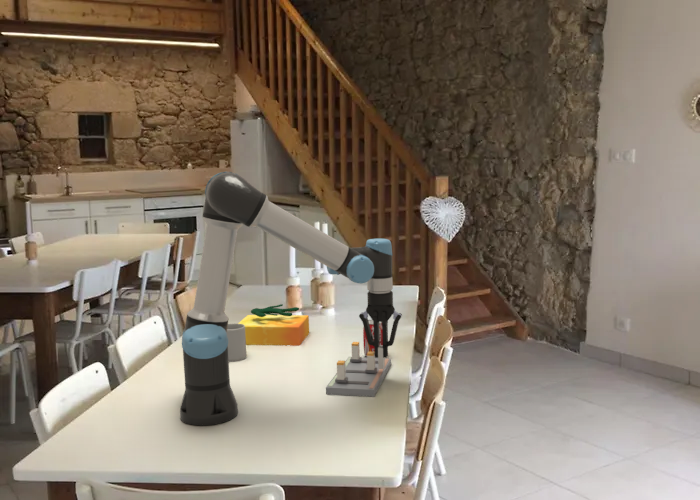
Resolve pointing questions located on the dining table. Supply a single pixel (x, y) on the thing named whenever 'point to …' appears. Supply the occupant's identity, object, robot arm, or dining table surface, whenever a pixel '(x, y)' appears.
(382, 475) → the dining table surface
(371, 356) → the breaker mid
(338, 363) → the breaker near
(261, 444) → the dining table surface
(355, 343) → the breaker far
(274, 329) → the mottled yellow carton
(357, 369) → the panel
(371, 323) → the soda can
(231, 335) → the mug
